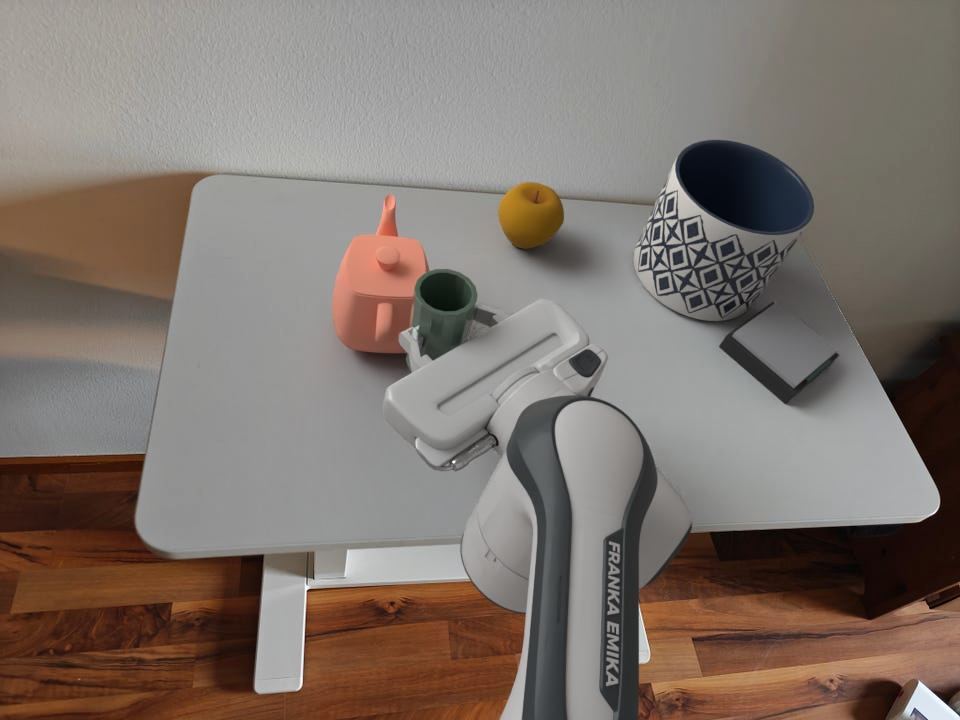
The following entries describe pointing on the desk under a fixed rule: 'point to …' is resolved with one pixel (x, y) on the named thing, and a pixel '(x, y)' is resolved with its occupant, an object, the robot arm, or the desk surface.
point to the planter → (721, 229)
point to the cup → (442, 311)
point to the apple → (530, 214)
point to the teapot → (377, 287)
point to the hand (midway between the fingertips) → (435, 317)
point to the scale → (779, 351)
